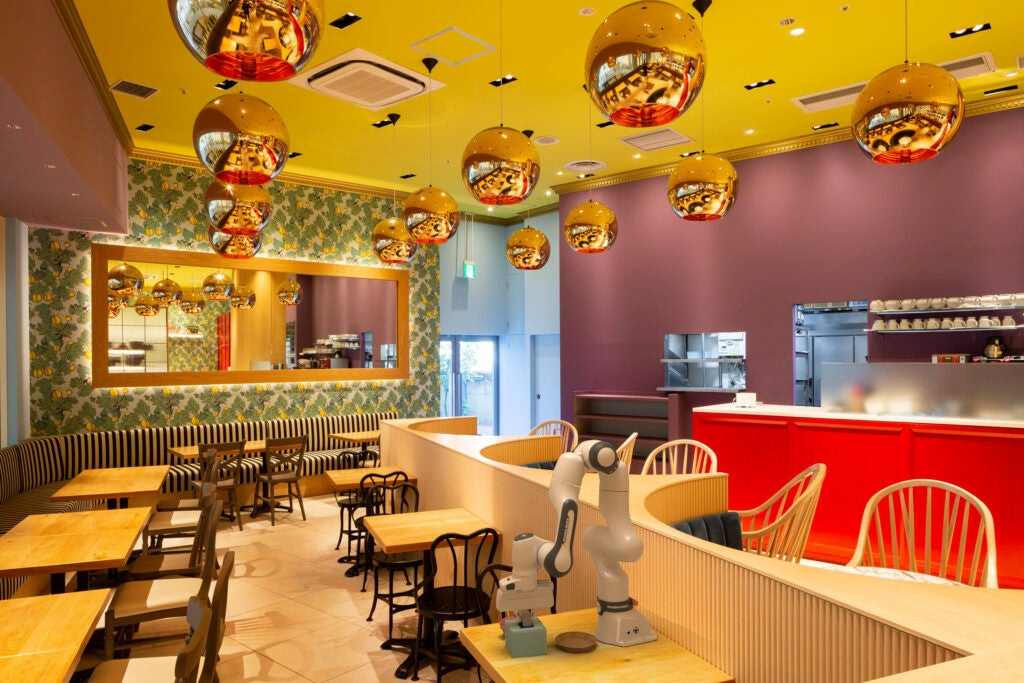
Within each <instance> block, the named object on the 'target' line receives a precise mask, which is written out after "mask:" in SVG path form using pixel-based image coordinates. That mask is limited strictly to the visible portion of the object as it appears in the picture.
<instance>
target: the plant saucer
mask: <svg viewBox="0 0 1024 683" xmlns="http://www.w3.org/2000/svg"><path fill="white" fill-rule="evenodd" d="M594 635H595V634H592V633H589V632H584V631H578V630H577V631H574V630H573V631H566V632H561V633H558V634H557V635H556V636H555V637H554V642H555V643H556V644H557V646H558V647H560V649H562V650H563V651H565V652H568V653H583V652H588V651H589V650H591V649H592V648H593V647H594V646H595V645H596V643H597V641H598V640H597V639H596V637H595V636H594Z"/></svg>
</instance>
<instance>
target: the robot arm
mask: <svg viewBox="0 0 1024 683" xmlns="http://www.w3.org/2000/svg"><path fill="white" fill-rule="evenodd" d="M553 469H554V470H553V472H552V476H551V477H550V478H551V479H550V482H549V486H548V487H549V488H548V498H549V501H550V502H551V504H552V506H553V507H554V509H555V510H556V515H557V521H558V522H557V528H556V532H555V540H554V542H553V541H551V540H548V539H544V538H540V537H539V536H537V535H535V534H534V533H533V532H523V533H520V534H517V535H516V536H515V537H514V538H513V541H512V544H511V545H512V546H511V562H512V570H511V574H510V575H508V576H507V577H504V578H501V579H500V580H499V581H498V585H499V588H498V589H497V592H496V599H495V607H496V609H497V611H498V612H500V613H502V612H503V613H505V612H507V611H509V612H513V613H514V615H515V617H517V623H522V621H521V620H522V618H521V616H519V615H518V614H519V610H527V609H528V610H531V611H532V612H531V622H534V618H535V616H536V614H537V613H538V609H545V608H552V607H553V606H554V604H555V602H554V601H555V600H554V598H555V597H554V592H553V591H554V583H553V581H552V580H550V579H548V578H547V579H539V580H538V570H540V569H541V570H542V569H543V570H544V571H546V572H547V573H548V574H549V575H550V576H551V577H553V578H558V579H561V578H563V577H565V576H567V575H568V574H569V573H570V572H571V570H572V568H573V565H574V553H573V548H574V540H575V535H576V534H575V533H576V529H577V522H578V516H579V515H578V514H579V513H578V510H579V507H578V506H579V497H580V491H581V487H582V485H583V484H582V483H583V480H584V476H585V475H586V473H587V472H588V471H593V472H594V471H596V472H597V474H598V479H599V484H598V485H599V486H598V511H599V513H600V514H601V515H602V517H603V518H604V520H605V522H606V525H607V526H605V525H600V524H599V525H590V526H588V527H587V528H586V529H584V532H583V534H582V546H583V548H584V549H585V550H586V552H587V553H588V554H589V555H590V558H591V559H592V562H593V565H594V570H595V572H596V579H597V597H596V612H597V622H596V626H595V627H596V628H595V631H594V632H595V633H594V634H593V635H594V636H595V637H596V639H597V641H599V642H601V643H603V644H604V643H605V644H608V645H616V646H620V647H627V646H628V647H629V646H634V645H639V644H645V643H648V642H654V641H657V639H658V634H657V632H656V631H655V630H654V629H652V628H651V624H650V621H649V618H648V617H647V616H646V615H644V614H643V613H642V612H641V611H640V610H639V609H637V608H636V607H638V606H639V605H640V604H639V601H638V600H637V599H635V598H633V597H631V596H630V595H629V592H630V591H629V576H628V574H627V572H626V571H625V569H623V567H622V566H621V564H620V562H621V563H636V562H638V561H639V560H641V557H642V556H643V553H644V545H645V544H644V542H643V540H642V537H641V536H640V535H639V534H638V533H637V531H636V529H635V527H634V525H633V522H632V519H631V514H630V477H629V476H630V475H629V470H628V465H627V464H626V463H625V461H623V460H620V458H619V457H618V452H617V450H616V449H615V447H614V446H613V445H612V444H611V443H609V442H607V441H603V440H598V439H591V440H589V439H586V440H582V441H580V442H578V444H576V445H575V447H574V448H573V450H572V451H570V452H564V453H561V455H559V458H558V460H557V462H556V464H555V466H554V468H553Z"/></svg>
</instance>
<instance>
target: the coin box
mask: <svg viewBox="0 0 1024 683" xmlns="http://www.w3.org/2000/svg"><path fill="white" fill-rule="evenodd" d="M504 639H505V641H504V642H505V643H504V645H505V648H506V650H507V651H508V653H509V655H510V657H511V658H512V659H520V658H527V657H528V658H529V657H536V656H546V655H548V654H547V652H548V651H547V650H548V649H547V648H548V646H547V642H548V641H547V627H546V626H545V624H543V622H542V621H541V619H540V618H539V617H538V616H537V617H534V622H532V627H531V628H522V627H521V626H520V623H517V619H515V620H505V637H504Z"/></svg>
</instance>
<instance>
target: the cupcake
mask: <svg viewBox="0 0 1024 683" xmlns="http://www.w3.org/2000/svg"><path fill="white" fill-rule="evenodd" d="M509 612H510V611H506V615H507V616H505V617H503V618H502V619H501V620H500V621H499V623H498V624H499V628H500V629H501V630H502V633H503V636H504V638H505V620H515V619H517V617H516V616H513V615H512V616H511V615H510V613H509Z"/></svg>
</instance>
